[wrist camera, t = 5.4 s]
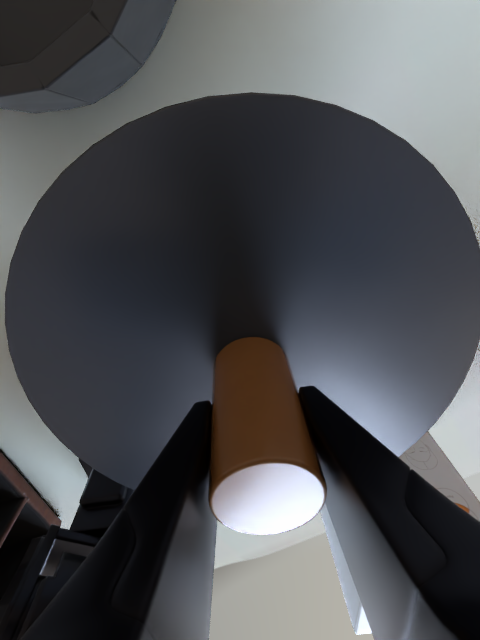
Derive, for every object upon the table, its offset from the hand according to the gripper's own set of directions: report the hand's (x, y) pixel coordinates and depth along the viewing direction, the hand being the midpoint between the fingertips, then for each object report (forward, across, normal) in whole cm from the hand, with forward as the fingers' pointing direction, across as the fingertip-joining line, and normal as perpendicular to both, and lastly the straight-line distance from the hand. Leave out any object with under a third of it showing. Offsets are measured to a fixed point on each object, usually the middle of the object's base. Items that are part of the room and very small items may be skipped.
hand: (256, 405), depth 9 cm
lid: (+2, 0, 0) cm, 2 cm away
